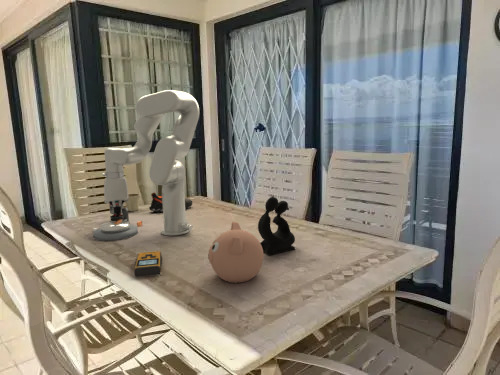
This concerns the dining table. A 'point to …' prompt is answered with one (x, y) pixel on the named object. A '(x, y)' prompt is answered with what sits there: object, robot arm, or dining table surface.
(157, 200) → the athletic shoe
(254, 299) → the dining table surface
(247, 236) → the toy
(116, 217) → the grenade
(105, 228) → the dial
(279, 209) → the figurine
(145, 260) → the electronic device
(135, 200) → the flower pot
